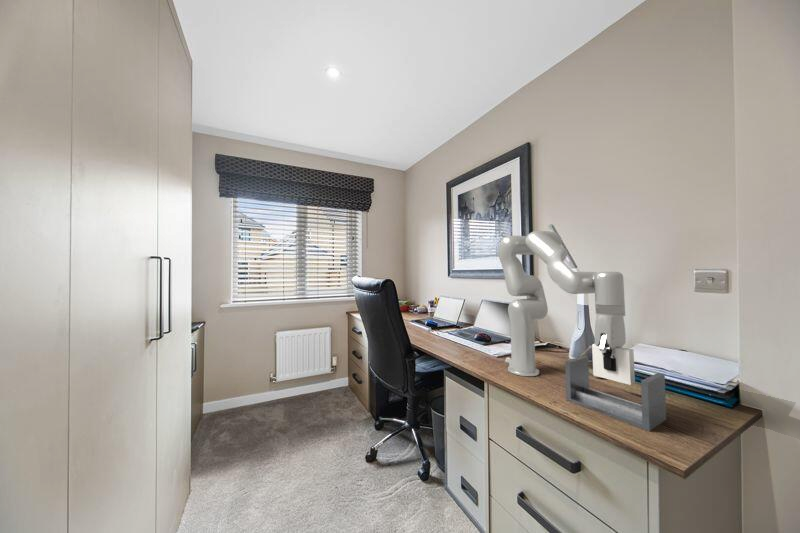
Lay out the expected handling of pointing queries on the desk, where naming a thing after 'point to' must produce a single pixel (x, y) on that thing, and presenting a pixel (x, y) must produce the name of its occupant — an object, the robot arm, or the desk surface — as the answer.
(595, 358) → the door
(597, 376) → the jawbone
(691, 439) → the desk surface
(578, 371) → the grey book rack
